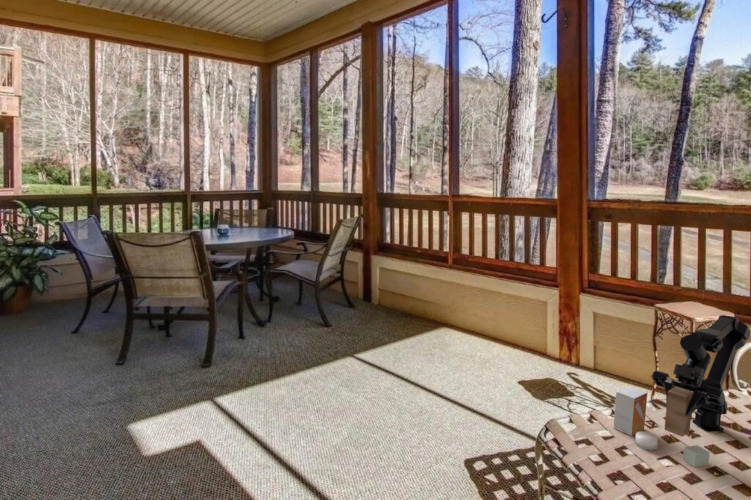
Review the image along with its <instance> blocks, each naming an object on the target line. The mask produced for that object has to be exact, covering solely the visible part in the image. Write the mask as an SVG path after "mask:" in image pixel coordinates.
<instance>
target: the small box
mask: <svg viewBox="0 0 751 500" xmlns="http://www.w3.org/2000/svg"><path fill="white" fill-rule="evenodd" d="M647 401H648V392H647V391H644V390H641V389H638V388H637V387H633V386H631V385H629V386H626V387H624V388H622V389H620V390H618V391H616V392H615V403H614V404H615V405H614V406H615V407H614V417H613V419H614V421H613V428H614V429H615V430H617V431H619V432H622V433H623V434H626V435H628V436H631V437H632V436H634V435H636V433H637V432H639V431H644V430H645V425H646V423H645V421H646V411H647Z"/></svg>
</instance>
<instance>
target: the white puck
mask: <svg viewBox="0 0 751 500" xmlns="http://www.w3.org/2000/svg"><path fill="white" fill-rule="evenodd" d="M658 441H659V439H658V436H657V434H654V433H653V432H650V431H647V430H641V431H639V432H637V433H635V445H636V446H637V447H638V448H640V449H642V450H644V451H656V450H657V449H658V445H659V444H658Z"/></svg>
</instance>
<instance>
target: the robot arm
mask: <svg viewBox="0 0 751 500" xmlns="http://www.w3.org/2000/svg"><path fill="white" fill-rule="evenodd" d="M750 337H751V329H750V328H749V325H747V324H745V323H744V322H742V321H741V320H739V318H737V317H736V316H731V315H726V314H720V315H719V316H718V319H717V320H715V321H714V322H713V323H712V324H711V325H710V326H708V327H707V328H699V329H697V330H695V331H691V333H690V334H688V335H685V336H683V337H682V338H680V341H679V345H680V347H681V349H682V352H683V353H684V356H685V357H686V360H685V362H684V363H682V364H678V363H675V364H674V369H673V373H672V374H673V375H675V378H676V379H674V378H672V377H671V376H670V375H669V374H668V373H667V372H663V371H662V370H661V371H660V370H657V369H656V370H655V371H652V374H651V375H650V378H651V379H652V380H653V382H654V384H655V385H656V386H658V387H661V388H664V390H665V393H666V394H665V398H666V399H665V400H666V401H665V404H666V405H665V406H667V395H668V391H669V390H670V389H672V388H674V387H678V388H681V389H684V390H687V391H691V392H693V399H692V401H691V403H690V405H689V407H688V409H687V411H686V415H687V416H688V415H690V414H691V415H692V414H693V413H694V412H695V415H694V419H691V422H692V423H693V424H695V425H697V426H698V427H700V429H702V430H704V431H706V432H710V431H711V432H712V431H723V430H724V427H722V426H721V419H722V417H721V416H722V415H727V413H728V403H727V401H726V397H725V396H726V395H725V392H724V389H723V385H724V382H725V380H726V377H727V375H728V372H729V369H730V367H731V364H732V362H733V360H734V357H735V354H736V352H737V350H739V349H741V348H743V347H744V346H745V345H746V342H747V341H748V340H749V339H750ZM709 353H713V354H715V357H714V359H713V361H712V364H711V360H712V357H711V354H709ZM709 364H711V367H710V369H709V371H708V367H709ZM707 371H708V374H707V377H706V376H705V375H706V372H707Z"/></svg>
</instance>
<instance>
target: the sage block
mask: <svg viewBox="0 0 751 500" xmlns="http://www.w3.org/2000/svg"><path fill="white" fill-rule="evenodd" d="M682 460H683V461H684V462H686V463H688V465H690V466H692V467H693V468H698V467H703V466H708V465H709V463H710V451H709V450H707V449H705V448H704V447H702V446H700V445H698V444H696V445H690V446H685V447H683V453H682Z"/></svg>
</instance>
